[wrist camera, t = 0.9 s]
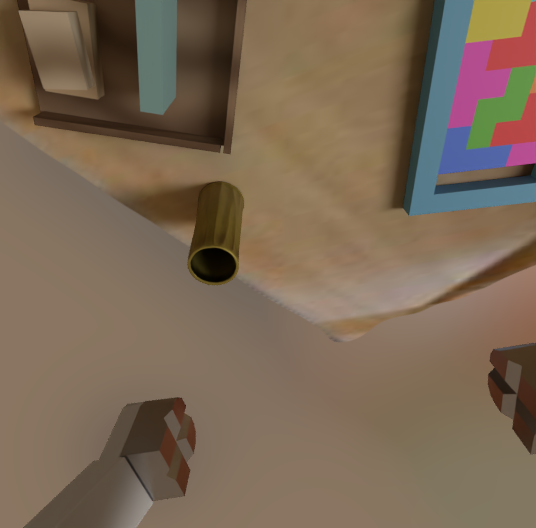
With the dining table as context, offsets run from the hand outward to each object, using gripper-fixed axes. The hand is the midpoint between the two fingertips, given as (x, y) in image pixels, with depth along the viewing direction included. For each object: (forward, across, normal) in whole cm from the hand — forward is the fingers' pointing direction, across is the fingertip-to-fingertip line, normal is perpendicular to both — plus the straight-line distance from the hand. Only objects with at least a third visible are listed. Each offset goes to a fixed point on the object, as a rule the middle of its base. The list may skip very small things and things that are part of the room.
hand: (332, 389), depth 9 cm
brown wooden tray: (+35, +12, -14) cm, 40 cm away
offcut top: (+32, +19, -14) cm, 40 cm away
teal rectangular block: (+34, +10, -13) cm, 38 cm away
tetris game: (+39, -30, -1) cm, 50 cm away
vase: (+39, +10, +5) cm, 40 cm away
